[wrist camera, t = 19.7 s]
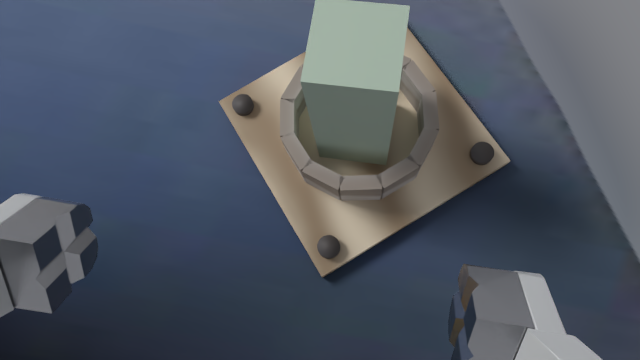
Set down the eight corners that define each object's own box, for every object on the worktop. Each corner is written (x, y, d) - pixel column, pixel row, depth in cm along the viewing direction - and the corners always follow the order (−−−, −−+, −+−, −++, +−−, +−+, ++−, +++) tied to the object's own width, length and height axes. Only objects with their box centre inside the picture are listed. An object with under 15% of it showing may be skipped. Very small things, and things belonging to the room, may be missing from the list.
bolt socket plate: (322, 277, 34) (318, 273, 30) (221, 105, 38) (206, 83, 35) (507, 164, 35) (524, 146, 31) (388, 9, 39) (391, -22, 36)
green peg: (386, 165, 35) (398, 92, 23) (319, 156, 36) (300, 81, 24) (394, 103, 36) (409, 5, 25) (329, 96, 37) (316, -3, 25)
